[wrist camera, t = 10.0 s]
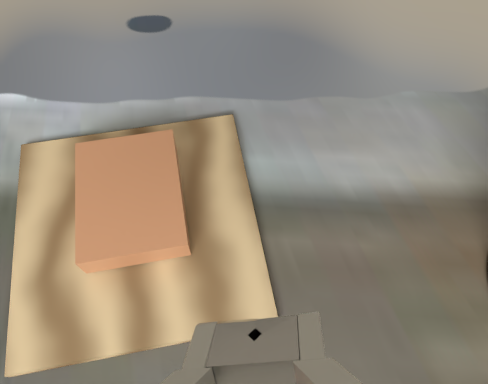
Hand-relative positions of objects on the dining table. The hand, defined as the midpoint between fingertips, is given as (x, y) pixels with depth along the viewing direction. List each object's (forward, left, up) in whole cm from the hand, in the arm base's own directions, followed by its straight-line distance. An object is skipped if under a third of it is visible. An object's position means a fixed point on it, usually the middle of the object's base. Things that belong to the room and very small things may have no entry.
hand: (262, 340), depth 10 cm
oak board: (+8, -16, -29) cm, 34 cm away
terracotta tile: (+8, -12, -26) cm, 30 cm away
